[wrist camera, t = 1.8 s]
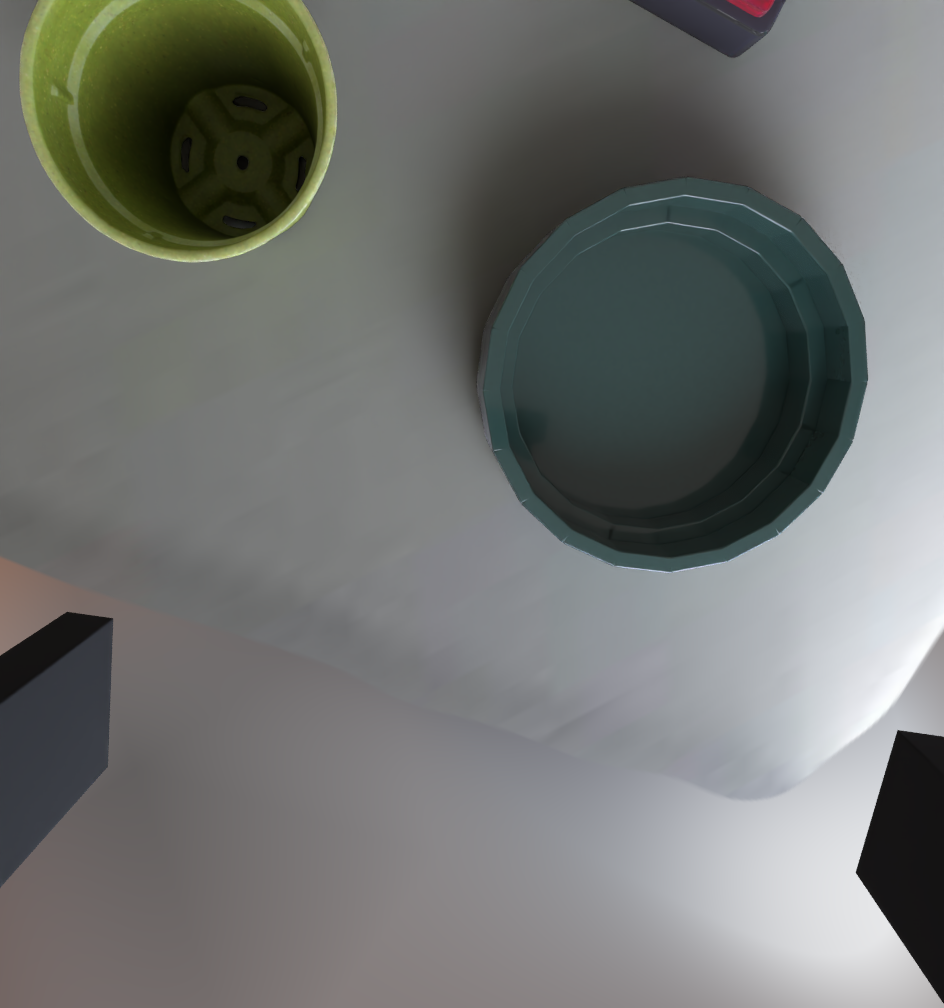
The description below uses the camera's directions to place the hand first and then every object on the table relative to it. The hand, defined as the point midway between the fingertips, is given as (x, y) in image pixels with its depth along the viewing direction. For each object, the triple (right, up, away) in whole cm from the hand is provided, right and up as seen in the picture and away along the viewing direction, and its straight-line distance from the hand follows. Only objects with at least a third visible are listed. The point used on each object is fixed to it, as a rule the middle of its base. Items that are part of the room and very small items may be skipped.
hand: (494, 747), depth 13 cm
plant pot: (-10, +18, +19) cm, 28 cm away
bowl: (+8, +10, +22) cm, 25 cm away
